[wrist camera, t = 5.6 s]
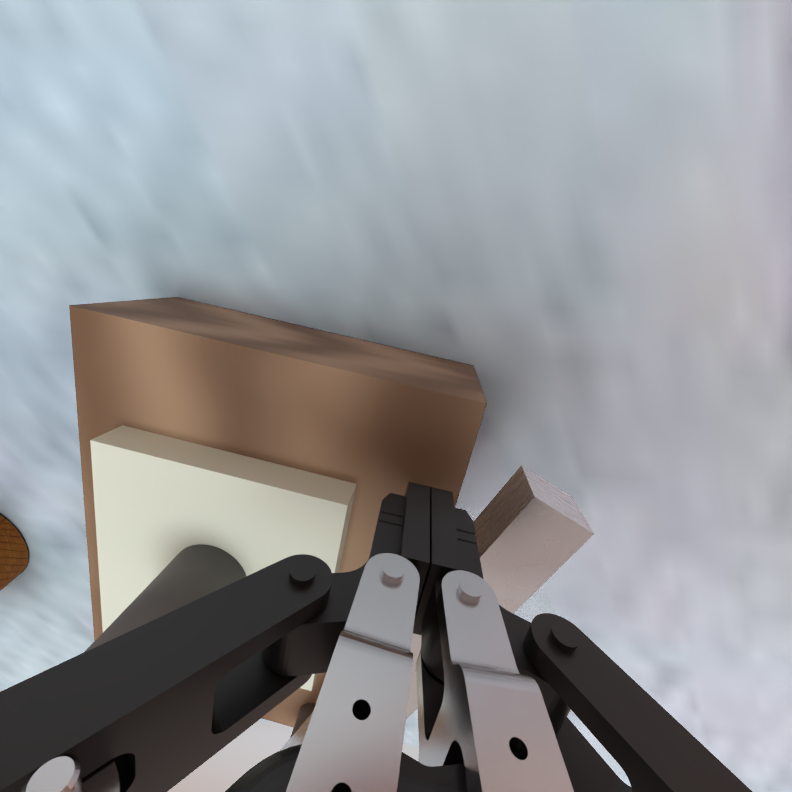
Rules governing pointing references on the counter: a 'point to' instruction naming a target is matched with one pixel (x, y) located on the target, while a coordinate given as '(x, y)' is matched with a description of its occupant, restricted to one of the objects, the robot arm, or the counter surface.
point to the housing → (273, 409)
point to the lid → (199, 522)
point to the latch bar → (514, 549)
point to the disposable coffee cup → (11, 553)
